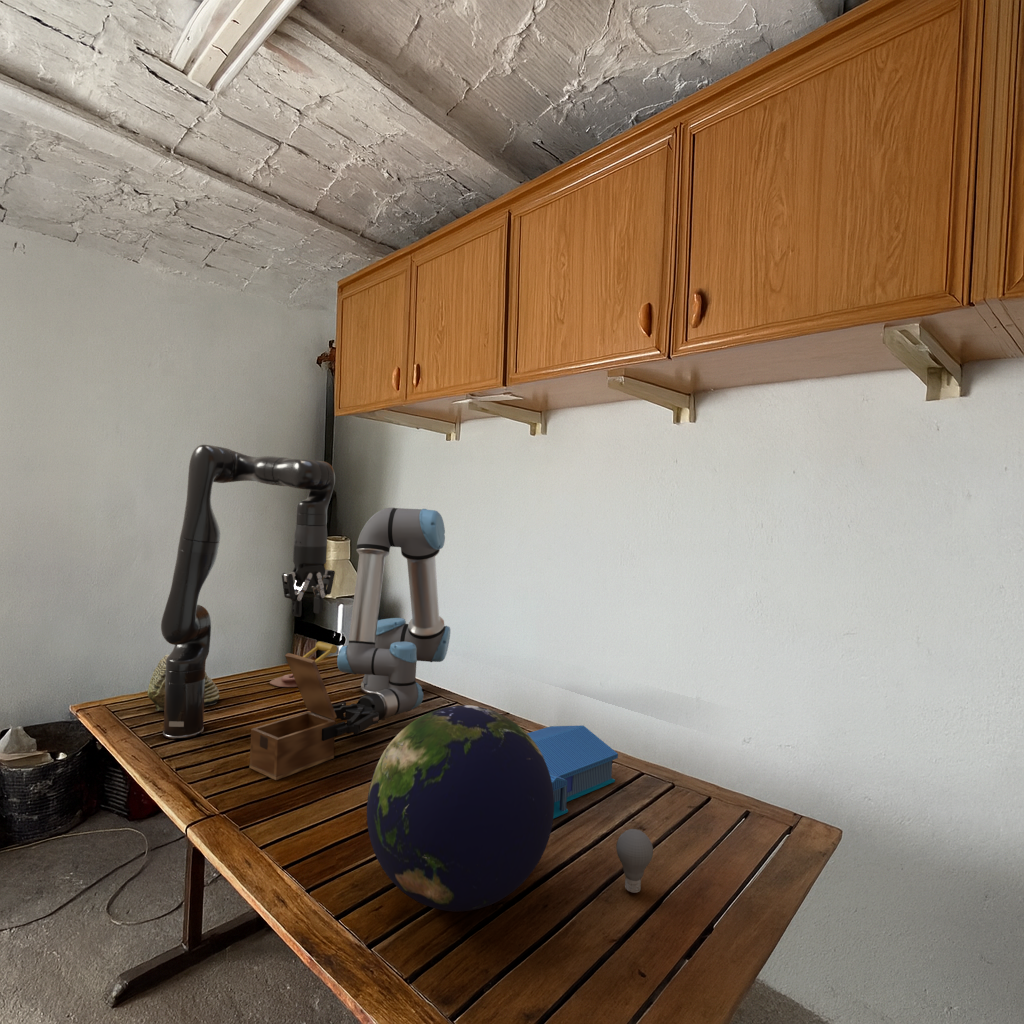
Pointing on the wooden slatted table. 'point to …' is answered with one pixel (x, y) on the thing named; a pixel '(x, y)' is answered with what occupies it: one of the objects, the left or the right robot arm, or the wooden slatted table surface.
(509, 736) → the globe
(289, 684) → the anatomical model
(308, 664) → the lid
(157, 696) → the fossil
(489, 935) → the wooden slatted table surface
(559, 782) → the model building
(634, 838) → the light bulb
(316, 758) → the chest
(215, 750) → the wooden slatted table surface
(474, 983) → the wooden slatted table surface
